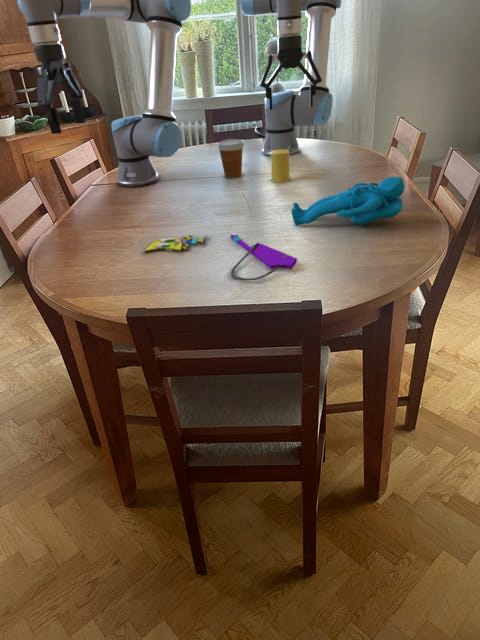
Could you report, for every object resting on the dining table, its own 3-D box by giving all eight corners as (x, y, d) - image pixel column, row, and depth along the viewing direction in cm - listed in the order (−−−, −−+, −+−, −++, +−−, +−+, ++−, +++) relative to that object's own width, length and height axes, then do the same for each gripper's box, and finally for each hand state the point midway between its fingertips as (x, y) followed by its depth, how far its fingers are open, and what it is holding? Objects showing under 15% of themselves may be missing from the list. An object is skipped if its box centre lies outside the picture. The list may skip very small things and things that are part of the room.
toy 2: (294, 191, 141) (400, 164, 130) (303, 224, 146) (406, 201, 135) (286, 212, 127) (404, 184, 117) (296, 248, 132) (410, 224, 122)
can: (279, 183, 168) (278, 154, 163) (268, 180, 173) (267, 151, 167) (293, 179, 171) (292, 151, 166) (282, 176, 175) (281, 148, 170)
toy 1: (199, 248, 125) (143, 249, 127) (199, 251, 125) (144, 252, 127) (206, 233, 133) (154, 234, 135) (206, 236, 133) (154, 237, 136)
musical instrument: (273, 292, 106) (311, 246, 118) (271, 284, 105) (310, 238, 117) (189, 277, 119) (231, 237, 131) (186, 270, 118) (230, 230, 130)
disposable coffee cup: (216, 178, 179) (213, 145, 172) (226, 170, 186) (223, 138, 180) (240, 179, 176) (237, 145, 169) (249, 171, 183) (247, 139, 176)
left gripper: (33, 46, 117) (57, 137, 128) (82, 39, 137) (100, 118, 149) (6, 49, 119) (33, 138, 130) (59, 41, 139) (78, 119, 150)
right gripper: (249, 39, 149) (253, 112, 161) (330, 32, 147) (329, 106, 158) (251, 37, 156) (255, 108, 167) (328, 30, 153) (327, 102, 165)
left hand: (69, 128), depth 139 cm, fingers open, 13 cm apart
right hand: (291, 107), depth 163 cm, fingers open, 13 cm apart
